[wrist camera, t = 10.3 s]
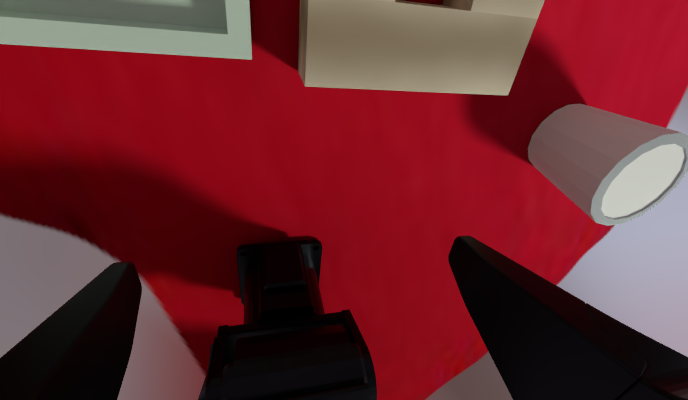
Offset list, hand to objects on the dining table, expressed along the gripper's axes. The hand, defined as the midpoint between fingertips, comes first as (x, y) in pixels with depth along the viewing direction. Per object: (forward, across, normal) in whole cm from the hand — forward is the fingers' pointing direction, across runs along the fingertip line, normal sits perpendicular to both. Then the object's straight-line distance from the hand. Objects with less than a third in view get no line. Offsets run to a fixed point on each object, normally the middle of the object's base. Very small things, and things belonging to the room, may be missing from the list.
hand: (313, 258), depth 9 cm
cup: (+13, -22, +2) cm, 26 cm away
